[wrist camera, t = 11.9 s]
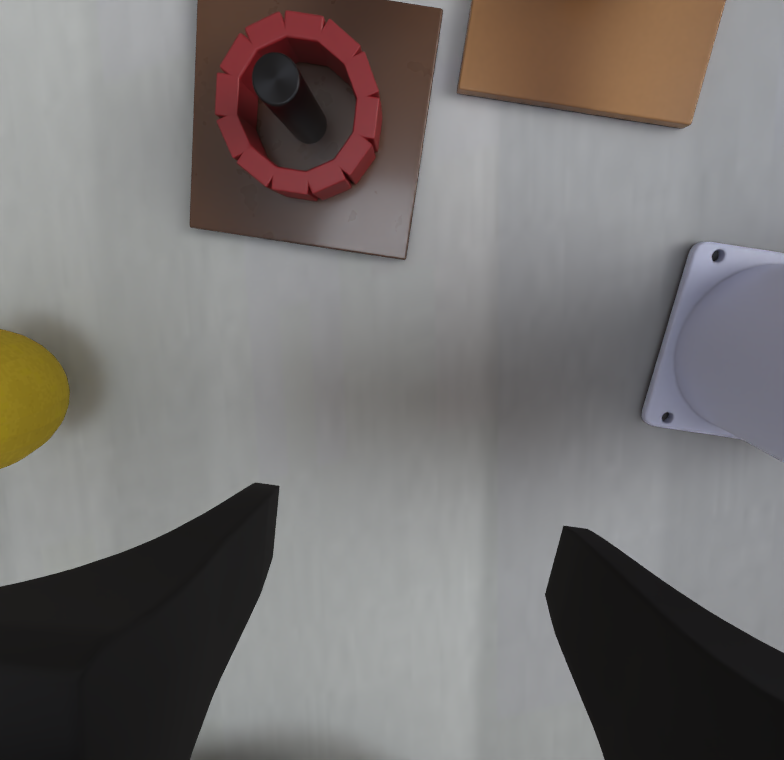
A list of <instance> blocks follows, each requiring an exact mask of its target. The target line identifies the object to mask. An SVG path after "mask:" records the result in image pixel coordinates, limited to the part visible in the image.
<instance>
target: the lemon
mask: <svg viewBox="0 0 784 760" xmlns="http://www.w3.org/2000/svg"><path fill="white" fill-rule="evenodd" d="M69 395H70V390H69V384H68V380H67V376H66V374H65V372H64V370H63V368H62V366H61V365H60V363H59V362H58V361H57V359H56V358H55V357H54V356H53V355H52V354H51V353H50V352H49V351H48V350H47V349H45V348H44V347H43V346H42V345H40V344H38V343H37V342H35V341H33V340H31V339H29V338H27V337H25V336H23V335H20V334H17V333H13V332H10V331H6V330H3V329H0V469H1V468H4V467H7V466H9V465H11V464H14V463H16V462H18V461H20V460H21V459H23V458H25V457H26V456H28V455H29V454H30V453H32V452H33V451H35V450H36V449H37V448H39V447H40V446H42V445H43V444H44V443H45V442H47V441H48V440H49V439H50V438H51V436H52V435H53V434H54V433H55V431H56V430H57V429H58V427H59V426H60V425H61V423H62V421H63V420H64V417H65V414H66V411H67V409H68V405H69Z"/></svg>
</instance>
